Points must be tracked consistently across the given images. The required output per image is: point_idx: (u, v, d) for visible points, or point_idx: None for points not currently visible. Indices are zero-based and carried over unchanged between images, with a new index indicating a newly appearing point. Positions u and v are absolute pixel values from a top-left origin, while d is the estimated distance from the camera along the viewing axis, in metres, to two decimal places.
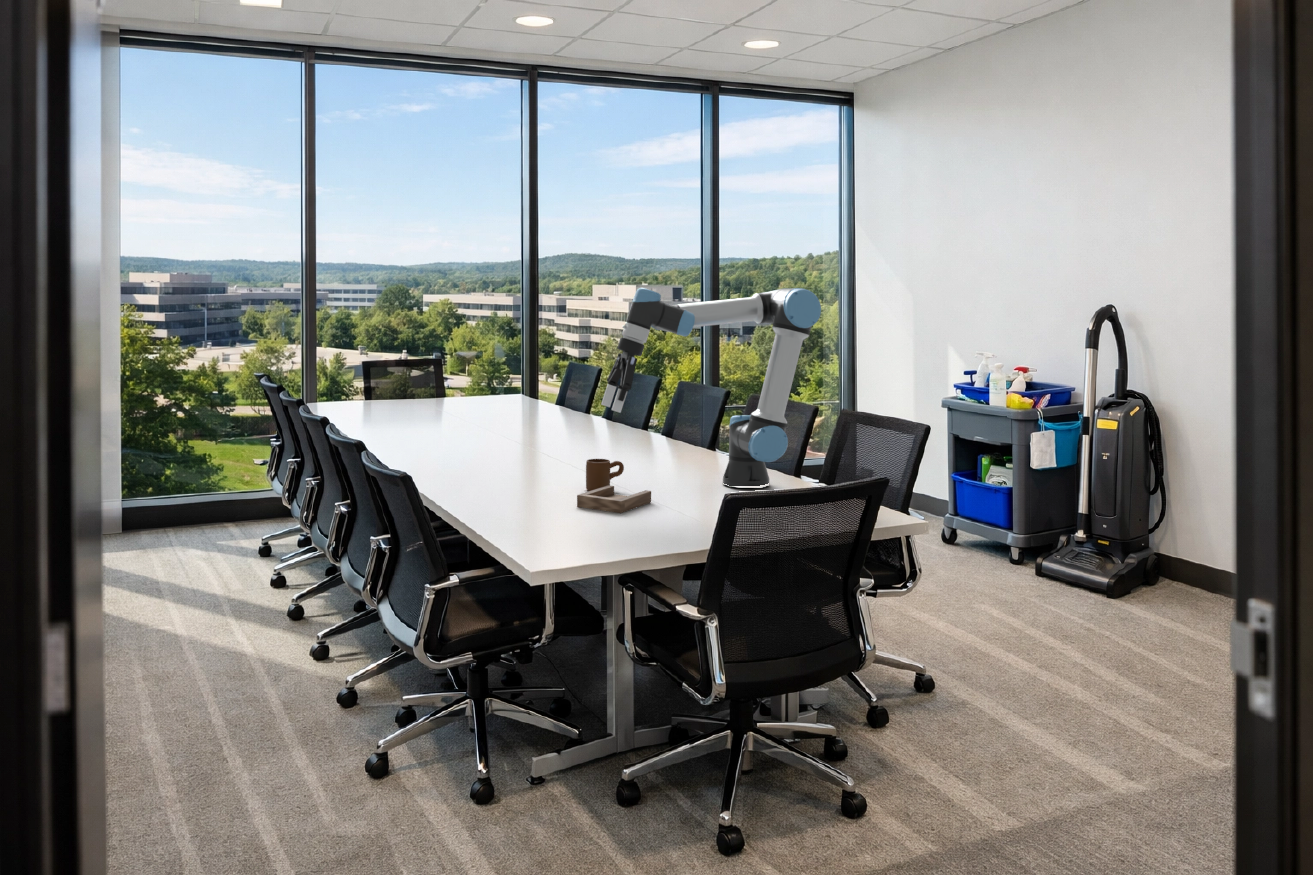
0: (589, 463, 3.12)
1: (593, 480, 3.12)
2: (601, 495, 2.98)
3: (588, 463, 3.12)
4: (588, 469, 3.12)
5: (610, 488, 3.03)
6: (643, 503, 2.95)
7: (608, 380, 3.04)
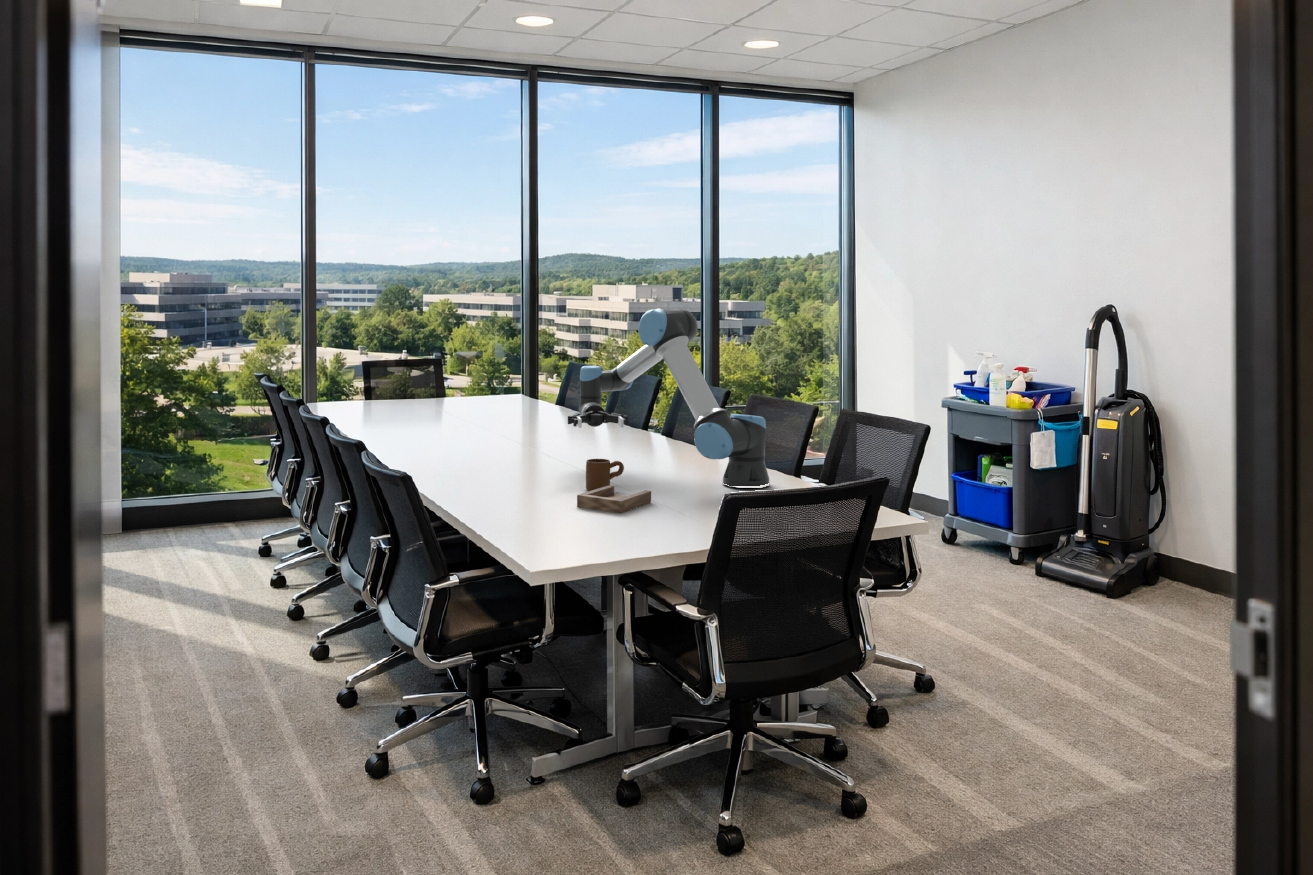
0: (589, 463, 3.12)
1: (593, 480, 3.12)
2: (601, 495, 2.98)
3: (588, 463, 3.12)
4: (588, 469, 3.12)
5: (610, 488, 3.03)
6: (643, 503, 2.95)
7: (625, 422, 3.32)
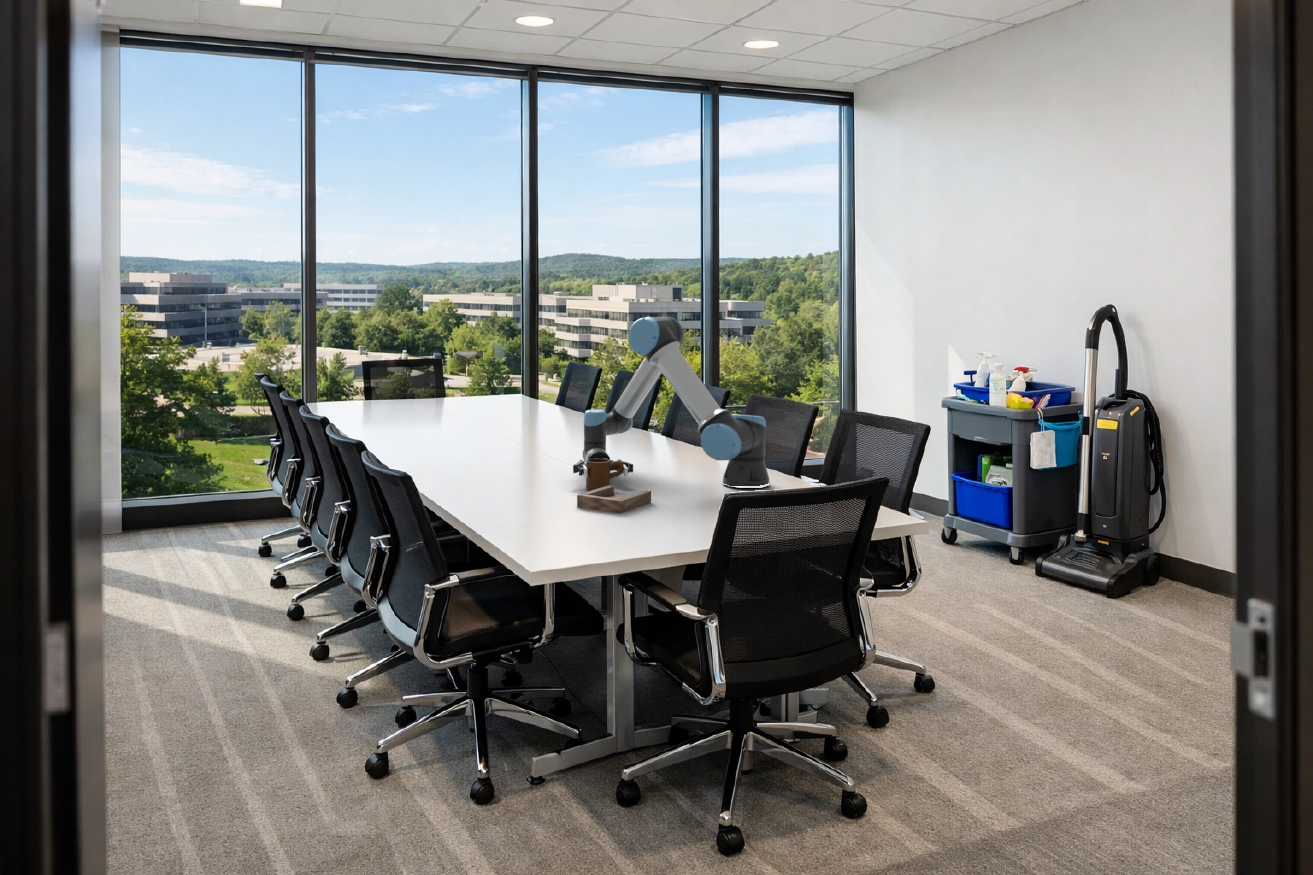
0: (589, 463, 3.12)
1: (593, 479, 3.12)
2: (601, 495, 2.98)
3: (588, 463, 3.12)
4: (588, 469, 3.12)
5: (610, 488, 3.03)
6: (643, 503, 2.95)
7: (629, 471, 3.21)
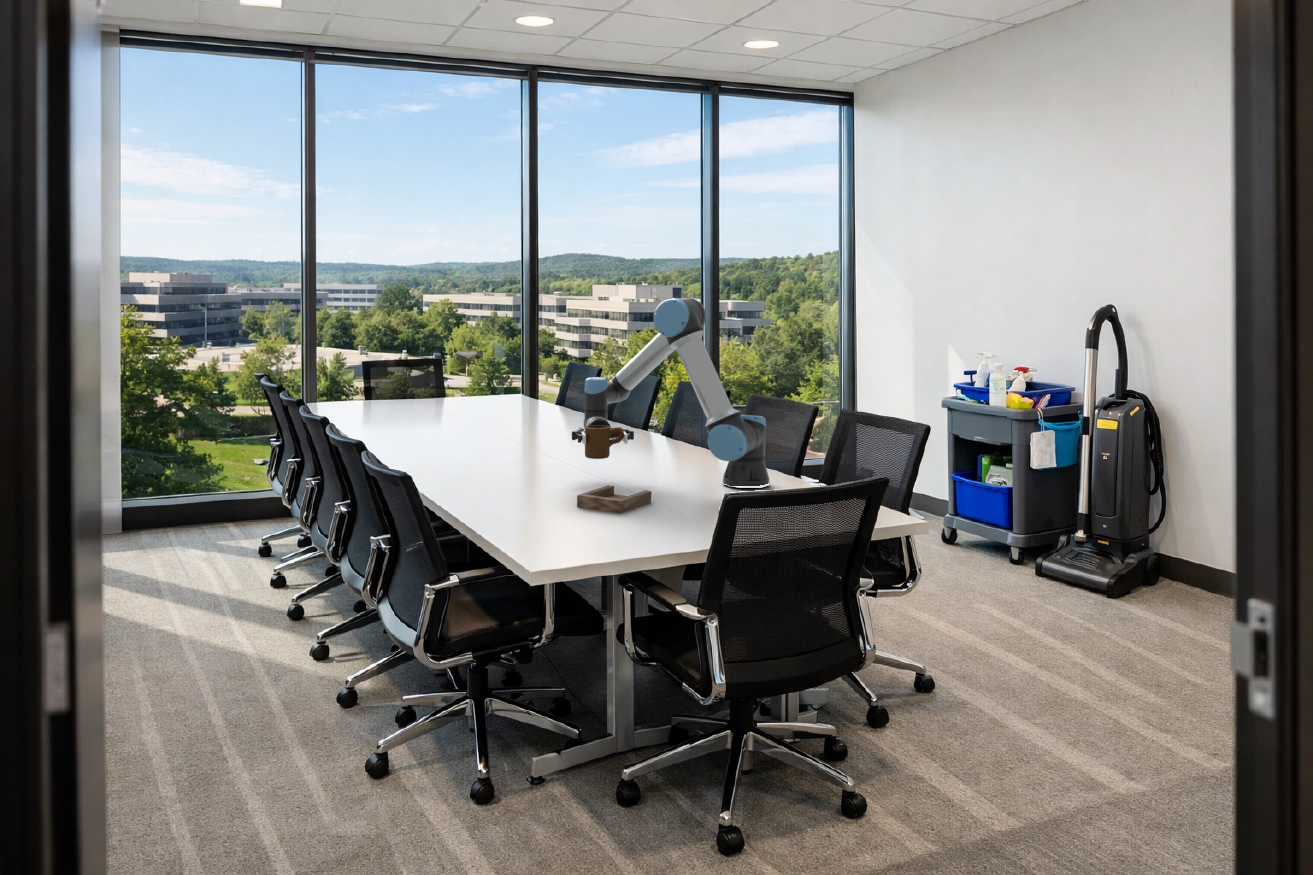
0: (588, 429, 3.02)
1: (592, 446, 3.02)
2: (601, 495, 2.98)
3: (587, 429, 3.03)
4: (587, 435, 3.03)
5: (610, 488, 3.03)
6: (643, 503, 2.95)
7: (630, 438, 3.11)
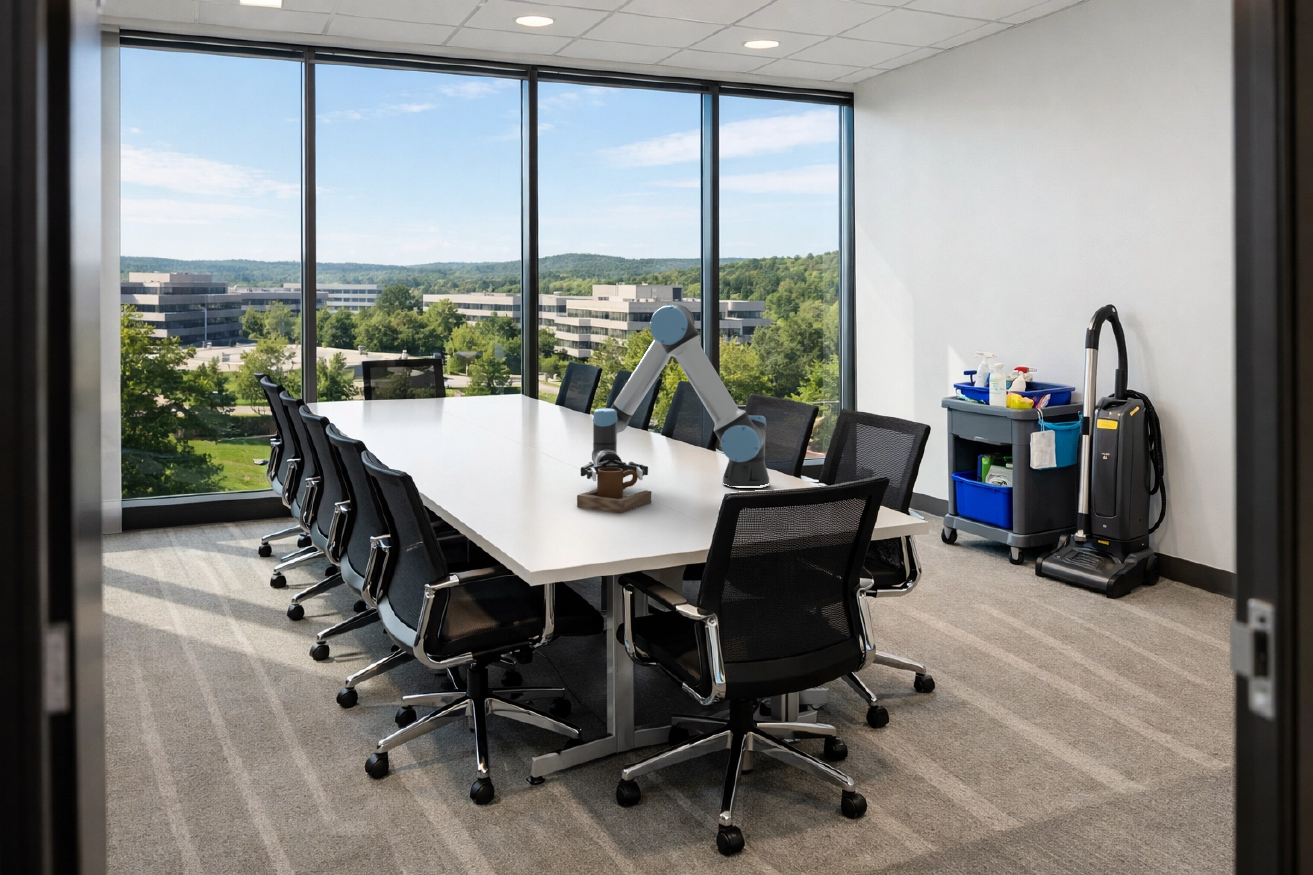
0: (601, 472, 2.92)
1: (605, 490, 2.91)
2: None
3: (600, 472, 2.92)
4: (600, 479, 2.92)
5: None
6: (643, 503, 2.95)
7: (644, 474, 3.01)
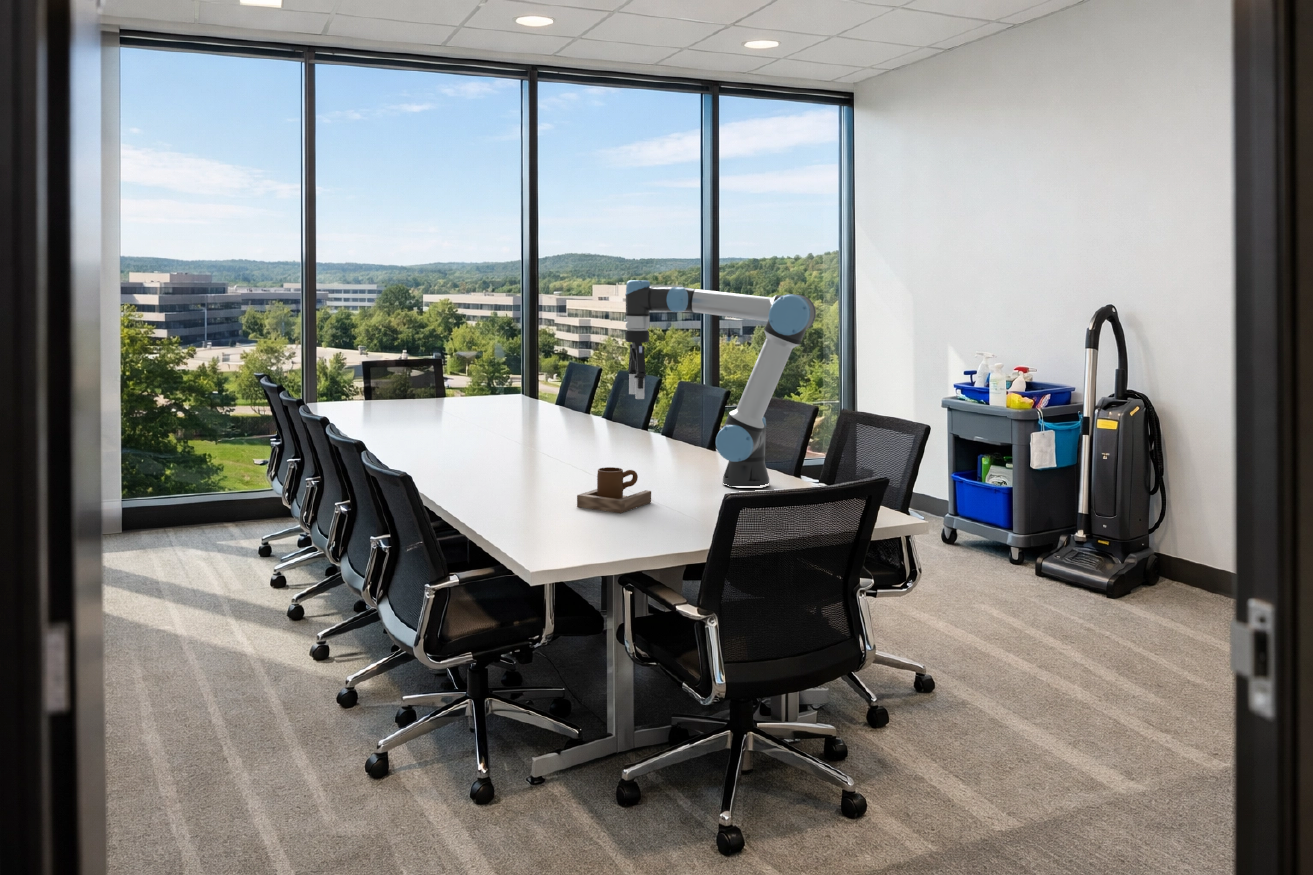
0: (601, 472, 2.92)
1: (605, 490, 2.91)
2: None
3: (600, 472, 2.92)
4: (600, 479, 2.92)
5: None
6: (643, 503, 2.95)
7: (629, 370, 3.27)
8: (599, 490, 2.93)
